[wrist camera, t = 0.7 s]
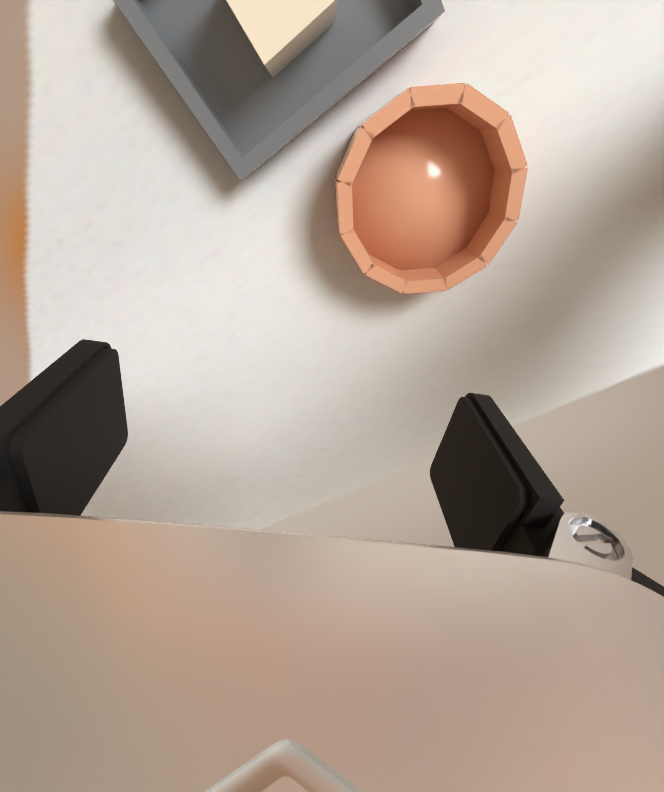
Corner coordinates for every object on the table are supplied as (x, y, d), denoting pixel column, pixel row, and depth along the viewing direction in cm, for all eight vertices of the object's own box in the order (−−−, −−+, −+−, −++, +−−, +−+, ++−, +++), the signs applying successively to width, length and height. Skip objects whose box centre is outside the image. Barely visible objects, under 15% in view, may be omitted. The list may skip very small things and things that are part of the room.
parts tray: (332, -245, 20) (333, -291, 18) (434, 22, 25) (444, 10, 23) (119, -4, 24) (100, -18, 22) (245, 178, 30) (240, 180, 28)
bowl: (460, 44, 26) (482, 29, 23) (524, 219, 32) (548, 228, 29) (303, 169, 30) (301, 173, 26) (386, 306, 36) (394, 322, 32)
